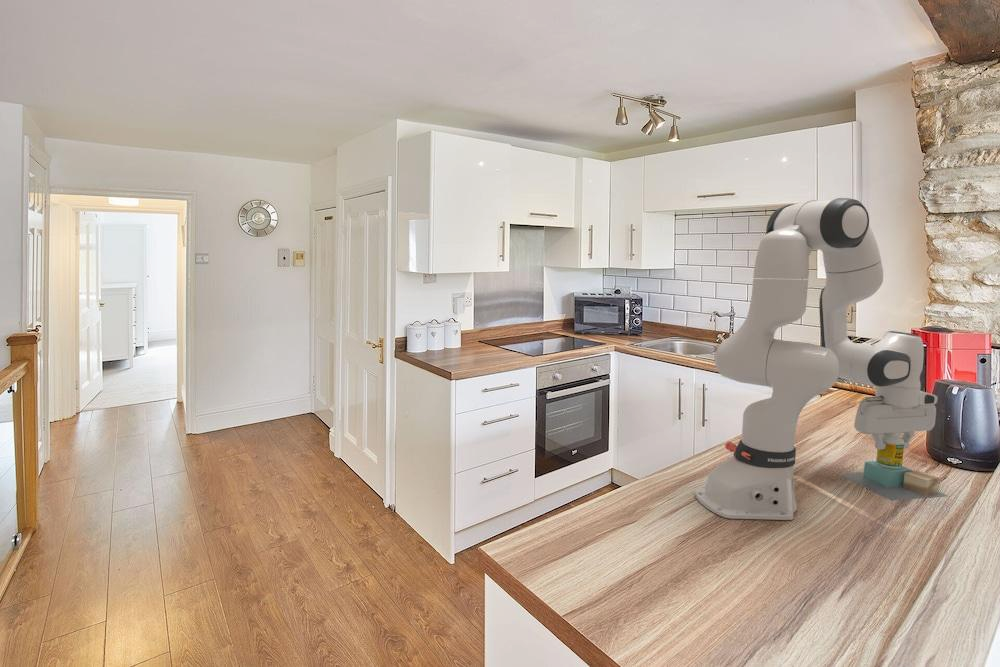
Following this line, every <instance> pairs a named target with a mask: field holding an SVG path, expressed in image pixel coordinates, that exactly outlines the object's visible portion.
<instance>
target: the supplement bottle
mask: <svg viewBox="0 0 1000 667" xmlns="http://www.w3.org/2000/svg"><path fill="white" fill-rule="evenodd" d="M902 436H903V433H902V432H896V433H884V437H882V440H883V442H884V443H886V449H884V450H879V449H876V450H877V451H876V460H875V461H876V462H877V464H878V465H880V466H882V467H885V468H890V469H900V468H901V467H902V466H903V461H904V460H903V458H904V452H905V451H904V449H905V448H904V440H903V439H902Z"/></svg>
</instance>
